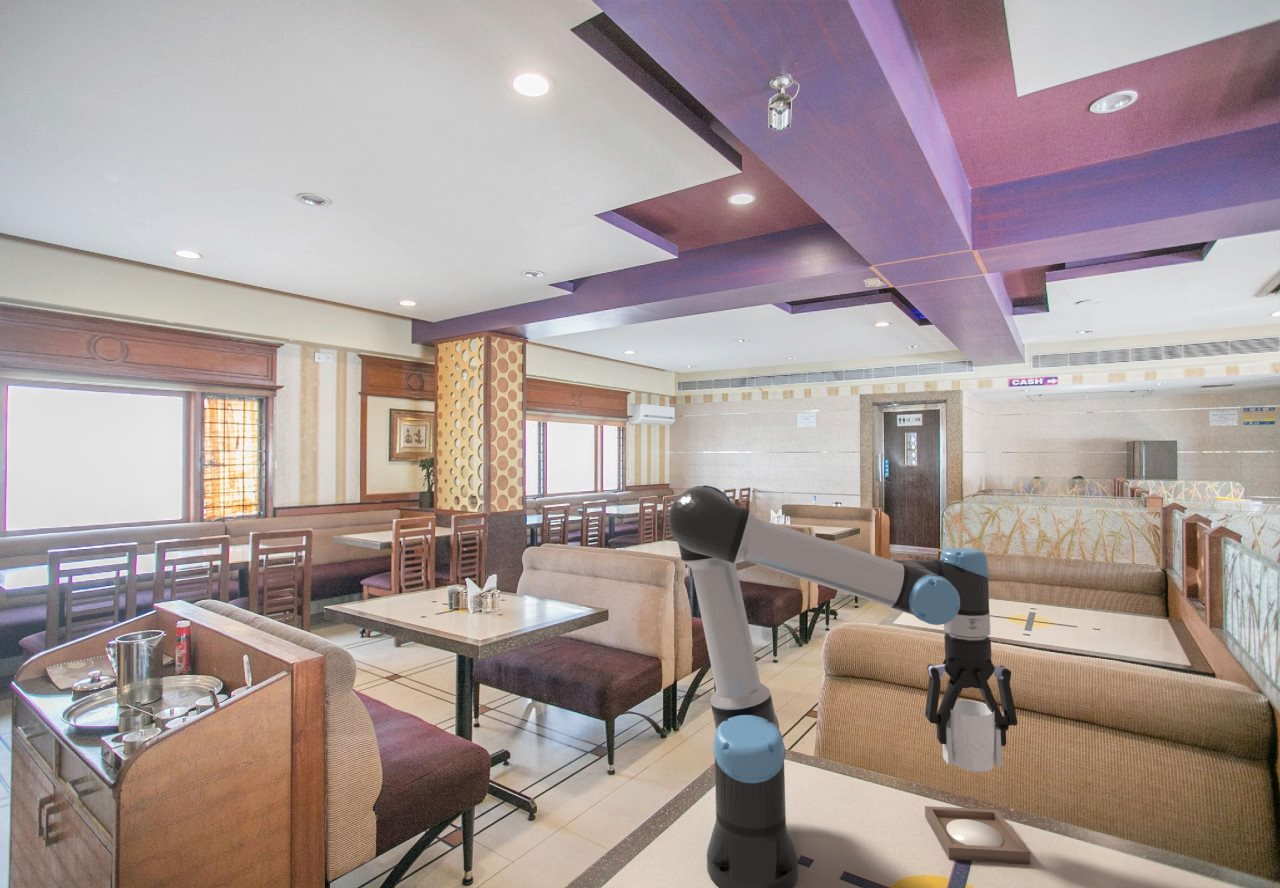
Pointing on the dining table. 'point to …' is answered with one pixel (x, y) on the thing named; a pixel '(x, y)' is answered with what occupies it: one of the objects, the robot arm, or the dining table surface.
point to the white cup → (972, 735)
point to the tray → (976, 835)
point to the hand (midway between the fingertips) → (972, 762)
